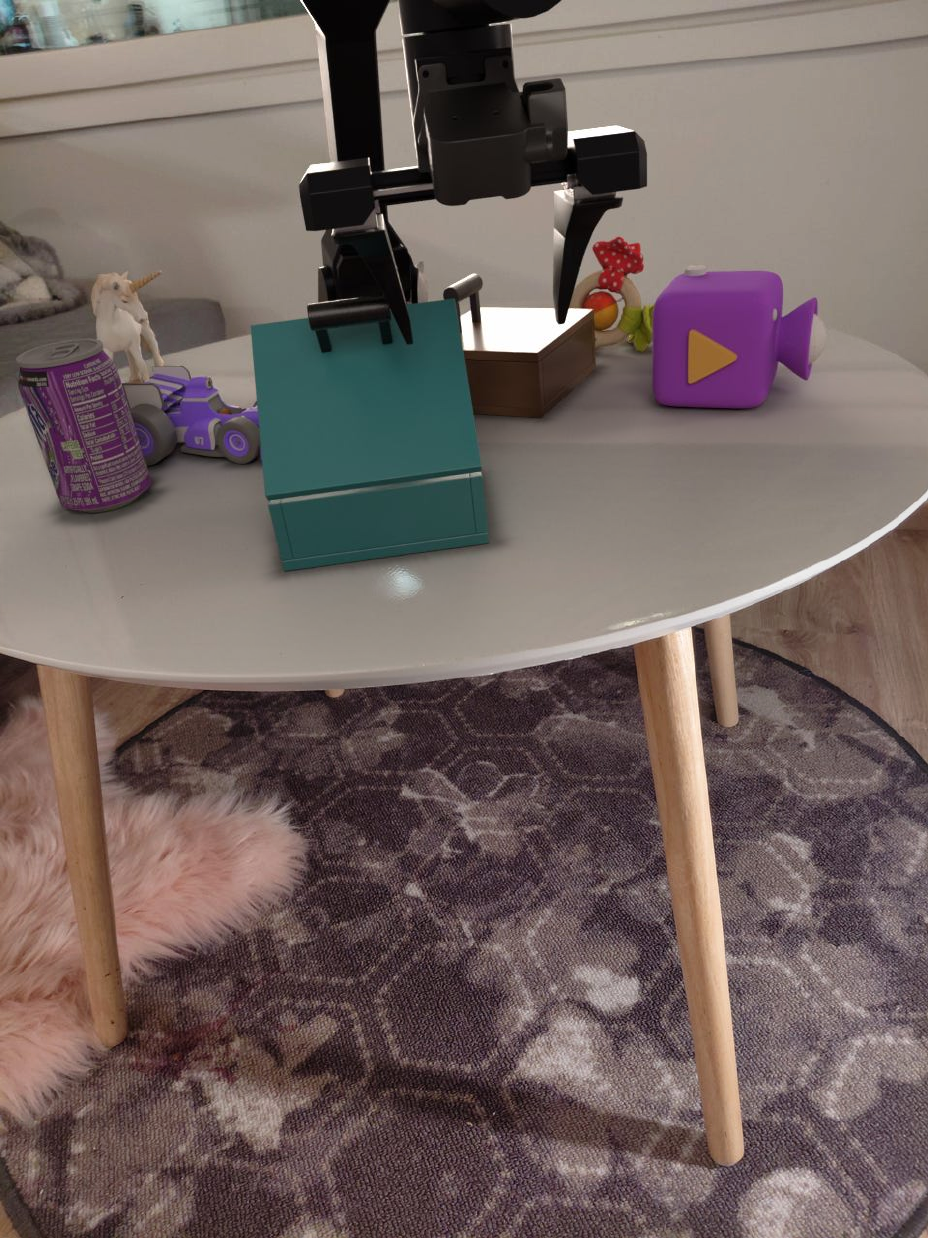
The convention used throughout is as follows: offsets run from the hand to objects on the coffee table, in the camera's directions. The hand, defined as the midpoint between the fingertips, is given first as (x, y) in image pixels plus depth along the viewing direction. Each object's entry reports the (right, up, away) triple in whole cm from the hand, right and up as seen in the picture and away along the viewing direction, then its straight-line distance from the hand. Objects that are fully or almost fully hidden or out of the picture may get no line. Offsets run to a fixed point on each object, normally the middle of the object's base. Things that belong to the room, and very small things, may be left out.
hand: (485, 332), depth 57 cm
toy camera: (+22, +2, +24) cm, 32 cm away
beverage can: (-30, -8, +19) cm, 36 cm away
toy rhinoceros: (-8, +15, +52) cm, 55 cm away
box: (+3, +4, +31) cm, 32 cm away
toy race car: (-22, -2, +26) cm, 35 cm away
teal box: (-7, -10, +10) cm, 16 cm away
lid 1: (-8, -3, +4) cm, 9 cm away
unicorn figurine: (-32, +7, +43) cm, 54 cm away
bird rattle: (+14, +10, +38) cm, 42 cm away
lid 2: (+2, +8, +29) cm, 30 cm away
